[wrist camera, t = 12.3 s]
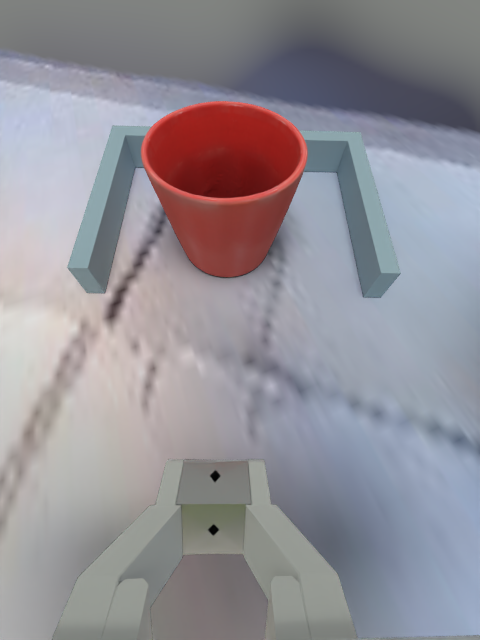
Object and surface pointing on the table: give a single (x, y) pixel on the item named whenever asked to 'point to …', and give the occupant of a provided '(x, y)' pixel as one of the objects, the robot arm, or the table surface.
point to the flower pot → (224, 180)
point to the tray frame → (323, 156)
